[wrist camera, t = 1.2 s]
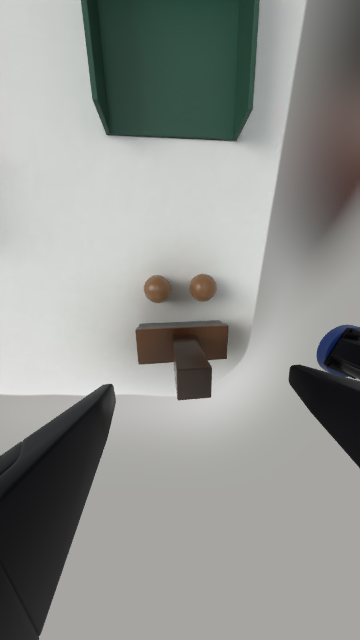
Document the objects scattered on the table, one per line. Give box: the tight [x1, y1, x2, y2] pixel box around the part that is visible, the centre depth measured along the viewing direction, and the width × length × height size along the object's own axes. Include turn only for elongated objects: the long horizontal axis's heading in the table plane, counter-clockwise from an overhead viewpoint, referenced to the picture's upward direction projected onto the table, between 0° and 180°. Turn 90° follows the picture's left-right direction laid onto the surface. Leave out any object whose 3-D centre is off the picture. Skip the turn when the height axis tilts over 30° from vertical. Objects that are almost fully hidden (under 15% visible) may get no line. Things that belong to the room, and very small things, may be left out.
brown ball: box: [190, 274, 217, 302], centre depth 19 cm, size 3×3×3 cm
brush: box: [136, 320, 228, 400], centre depth 16 cm, size 10×4×10 cm, turn 91°
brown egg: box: [144, 275, 172, 303], centre depth 18 cm, size 3×3×3 cm
